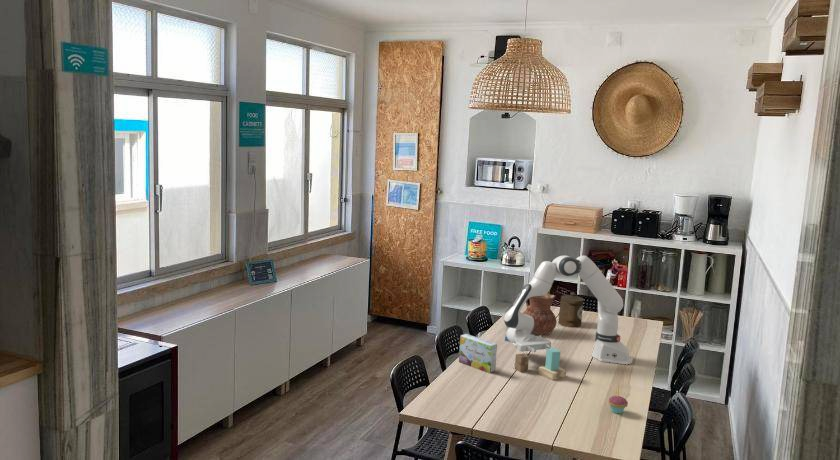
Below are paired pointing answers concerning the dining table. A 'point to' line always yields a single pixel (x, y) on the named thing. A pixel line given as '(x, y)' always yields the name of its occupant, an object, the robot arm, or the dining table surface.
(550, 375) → the oak base block
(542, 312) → the jug
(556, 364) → the teal block
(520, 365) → the walnut block
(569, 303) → the wooden container
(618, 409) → the cupcake
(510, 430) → the dining table surface
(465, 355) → the snack box
